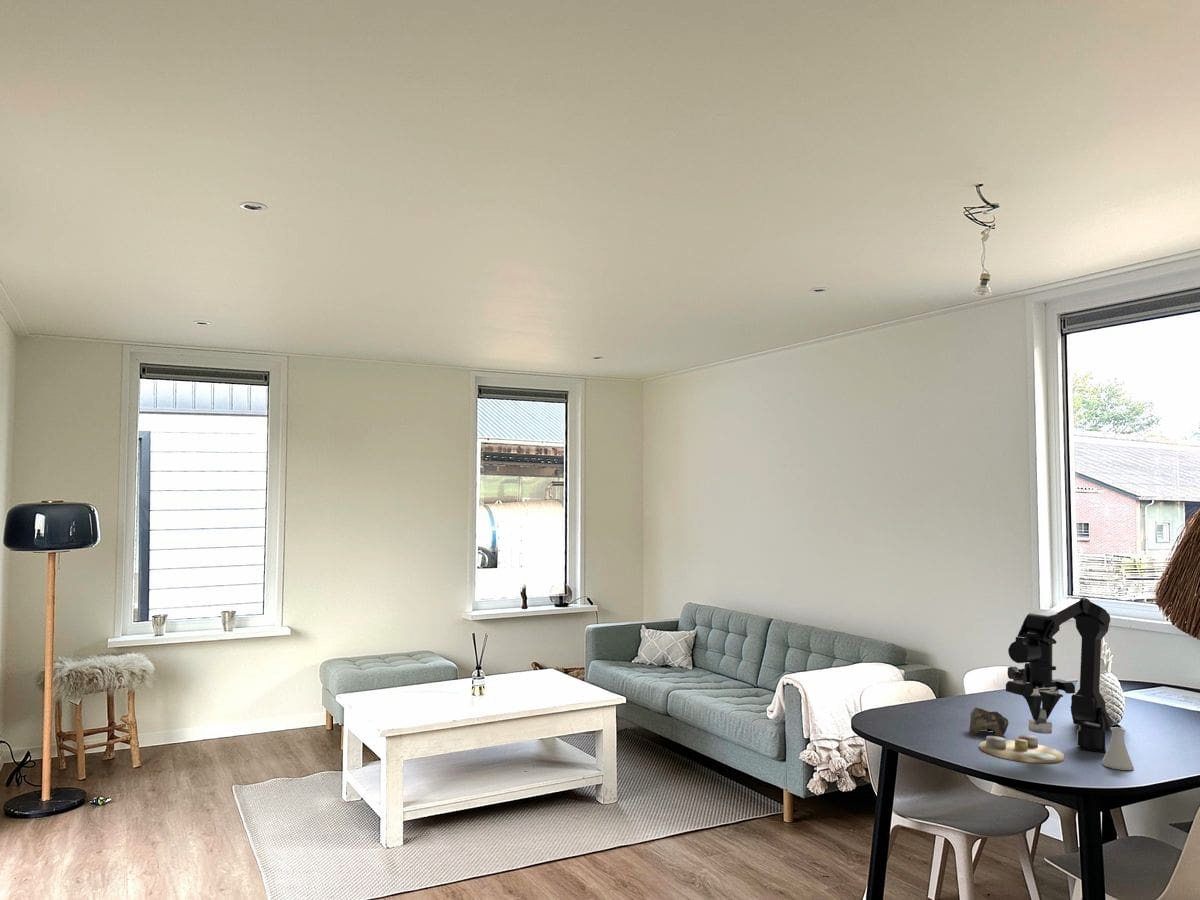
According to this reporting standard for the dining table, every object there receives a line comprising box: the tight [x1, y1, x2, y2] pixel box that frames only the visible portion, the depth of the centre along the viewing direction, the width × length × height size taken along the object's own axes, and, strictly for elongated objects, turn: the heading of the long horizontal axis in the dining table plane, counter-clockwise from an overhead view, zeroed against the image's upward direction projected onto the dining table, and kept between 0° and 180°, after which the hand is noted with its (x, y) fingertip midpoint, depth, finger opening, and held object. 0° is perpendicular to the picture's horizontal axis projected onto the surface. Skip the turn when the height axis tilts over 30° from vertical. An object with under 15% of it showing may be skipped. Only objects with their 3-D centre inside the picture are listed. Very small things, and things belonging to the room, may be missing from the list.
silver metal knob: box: [1028, 706, 1053, 735], centre depth 242 cm, size 6×6×6 cm
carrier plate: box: [979, 733, 1065, 764], centre depth 247 cm, size 21×21×3 cm
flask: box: [1101, 726, 1135, 771], centre depth 237 cm, size 7×7×10 cm
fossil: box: [968, 706, 1009, 738], centre depth 267 cm, size 11×9×10 cm
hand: (1040, 719), depth 242 cm, fingers closed on silver metal knob, 3 cm apart
